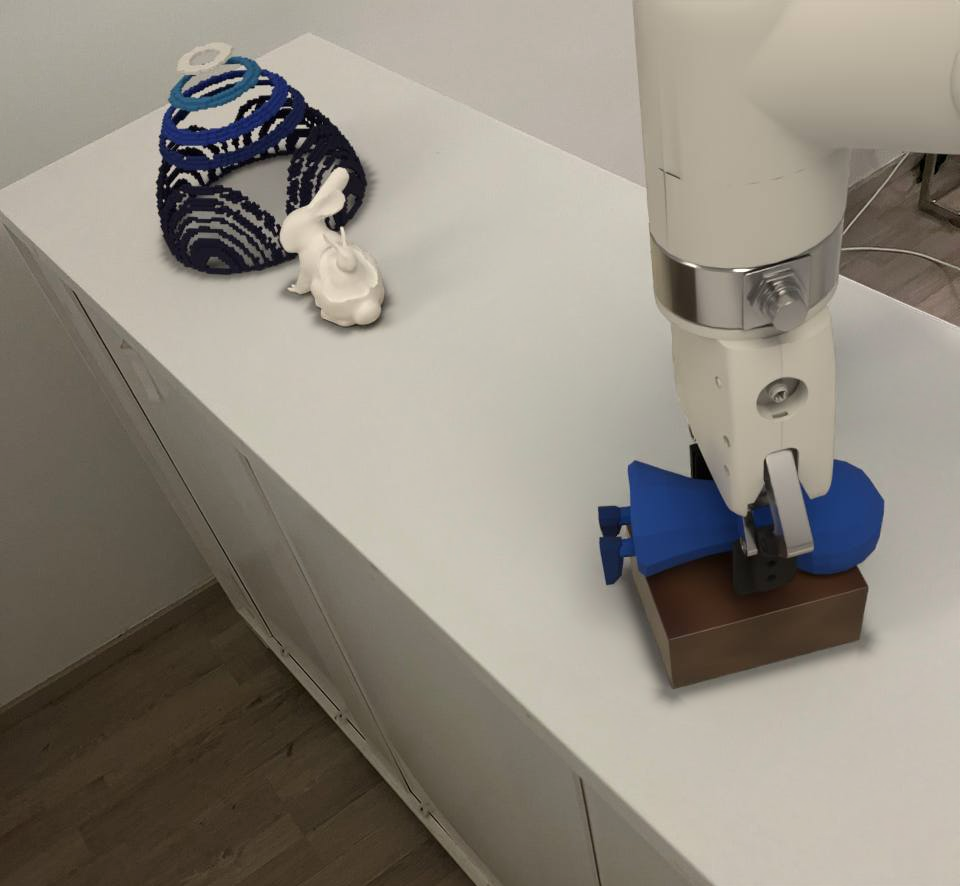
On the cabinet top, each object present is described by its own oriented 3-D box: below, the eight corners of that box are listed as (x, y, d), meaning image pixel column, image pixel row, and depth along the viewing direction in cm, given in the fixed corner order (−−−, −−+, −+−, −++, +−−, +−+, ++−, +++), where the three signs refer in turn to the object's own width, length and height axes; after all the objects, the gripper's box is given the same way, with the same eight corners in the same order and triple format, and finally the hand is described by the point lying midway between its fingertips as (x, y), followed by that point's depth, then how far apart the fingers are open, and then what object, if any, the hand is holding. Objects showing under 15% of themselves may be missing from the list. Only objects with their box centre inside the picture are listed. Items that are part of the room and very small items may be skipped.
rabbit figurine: (286, 289, 89) (243, 189, 82) (356, 248, 91) (320, 145, 83) (351, 348, 83) (311, 245, 75) (425, 303, 84) (394, 197, 76)
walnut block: (802, 527, 63) (807, 471, 59) (860, 640, 57) (869, 587, 53) (631, 574, 63) (624, 522, 59) (672, 689, 58) (668, 640, 54)
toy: (609, 612, 56) (894, 579, 53) (592, 540, 51) (905, 500, 48) (605, 519, 60) (870, 484, 57) (589, 445, 55) (878, 402, 52)
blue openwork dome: (312, 278, 89) (250, 120, 78) (133, 269, 97) (52, 123, 85) (396, 151, 99) (352, -7, 88) (228, 151, 106) (167, 5, 95)
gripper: (929, 357, 36) (872, 641, 50) (761, 124, 46) (754, 415, 60) (722, 414, 36) (724, 680, 50) (602, 171, 46) (633, 449, 61)
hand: (741, 534), depth 55 cm, fingers closed on toy, 6 cm apart
